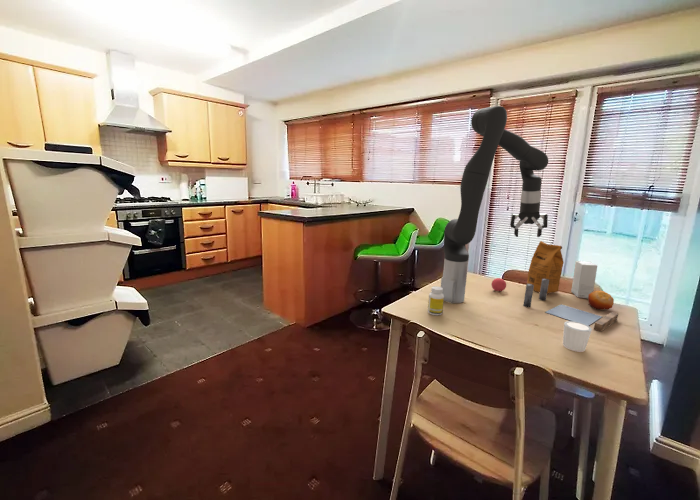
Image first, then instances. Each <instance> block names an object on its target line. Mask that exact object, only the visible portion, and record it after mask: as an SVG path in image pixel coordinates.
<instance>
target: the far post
mask: <svg viewBox="0 0 700 500" xmlns="http://www.w3.org/2000/svg"><path fill="white" fill-rule="evenodd" d="M548 285H549V279H546V278H542V282H541V288H540V293H539V295H538V300H539V301H542V302H543V301H545V302H546V300H547V295H548V294H547V291H548Z"/></svg>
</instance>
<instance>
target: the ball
mask: <svg viewBox="0 0 700 500" xmlns="http://www.w3.org/2000/svg"><path fill="white" fill-rule="evenodd" d="M491 288H492V290H493V291H495V292H504V291H505V290H506V288H507V282H506V281H505V280H504V279H503V278H501V277H497V278H494V279H493V280H492V281H491Z"/></svg>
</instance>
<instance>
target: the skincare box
mask: <svg viewBox="0 0 700 500" xmlns="http://www.w3.org/2000/svg"><path fill="white" fill-rule="evenodd" d="M597 271H598V264H595V263H593V262H591V261H584V260H576V261H575V264H574V271H573V278H572V283H571V284H572V285H571V290H570V291H571V293H572V294H573V295H575V297H577V298H580V299H581V298H583V299H588V296H589V294H590V293H592V292H594V291H595V290H594V289H595V285H596V278H597Z"/></svg>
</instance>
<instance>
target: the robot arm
mask: <svg viewBox="0 0 700 500" xmlns="http://www.w3.org/2000/svg"><path fill="white" fill-rule="evenodd" d="M507 122H508V113H507V110H506V108H505V107H504V106H502V105H496V106H490V107H483V108H480V109H478V110H476V111H475V112H474V113H473V115H472V117H471V124H470V125H471V128H472V130H473V131H474V132H475V133H476V134H478V135H479V136H481V137H482V140H481V142H480V145H479V146H478V149H477V150H476V152H475V153H474V154H473V155H472V156H471V157H470V159H469V160H468V162H467V164H466V165H465V167H464V170H463V173H462V177H461V181H460V186H459V187H460V202H461V203H460V204H461V205H460V212H459V215H458V218H454V219H451V220H450V221H448V222H447V224H446V225H445V228H444V234H443V253H444V262H443V271H442V277H440V278H441V279H440V287H441V288H443V292H442V294H443V295H444V301H443V302H447V303H449V304H460V303H464V301H465V296H466V295H465V294H466V287H467V286H466V285H467V279H468V278H467V275H468V268H469V258H470V254H469V252H468V251H467V247H466V245H468V244H470V243H471V242H472V241H473V239H474V237H475V235H476V231H477V225H478V219H479V213H480V208H481V205H482V202H483V198H484V194H485V190H486V188H487V185H488V180H489V177H490V173H491V170H492V165H493V162H494V158H495V155H496V153H497V149H498V147H500V148H502V149H503V150H504V151H506V152H507V153H508V154H509V155H510V156H512V157H513V158H514V159H516V160H517V161H519V163H518V165H519V170H520V177H521V179H522V185H521V186H522V187H521V194H520V201H519V202H520V203H519V204H520V206H519V213H518V214H515V213H512V214H511V217H510V223H509V224H510V228H511V229H514V230H513V231H514V233H513V235H514V237H516V238H518V237H519V228H520V227H521V226H522V225H528V224H530V225H533V224H535V225H536V226H537V227H538V228H537V230H536V231H537V232H536V237H537V238H540V237H541V236H542V232H543V229H546V228H548V223H549V222H548V217H549V215H548V214H547V212H544V213H540V211H541V210H540V208H541V200H542V197H541V196H542V194H541V192H542V191H541V189H542V177H541V176H538V175H536V174H535V173H534V171H542V170H544V169H546V168H547V166H548V164H549V156H548V155H547V154H546V152H544V151H542V150H541V149H539V148H537V147H535V146H533V145H531V144H530V143H529V142H528V141H526V140H525V139H524V138H523V137H522V136H520V135H519V134H517V133H514V132H512V131H509V130H507V129H505V128H506V125H507ZM517 218H519V220H518V222H517V223H516V224H515V220H516V219H517ZM540 218H541V219H542V220H543V221H542V224H540V222H539V221H538V220H539V219H540Z"/></svg>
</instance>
